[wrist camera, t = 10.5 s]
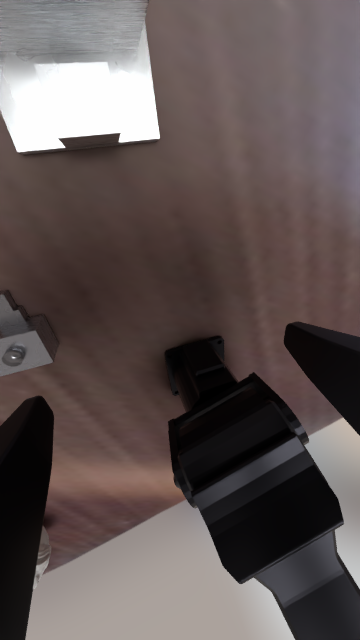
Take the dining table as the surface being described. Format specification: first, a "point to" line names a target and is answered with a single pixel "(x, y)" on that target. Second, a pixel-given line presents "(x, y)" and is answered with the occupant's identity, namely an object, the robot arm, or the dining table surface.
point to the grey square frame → (70, 25)
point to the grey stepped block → (23, 338)
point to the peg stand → (78, 99)
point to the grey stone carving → (42, 556)
